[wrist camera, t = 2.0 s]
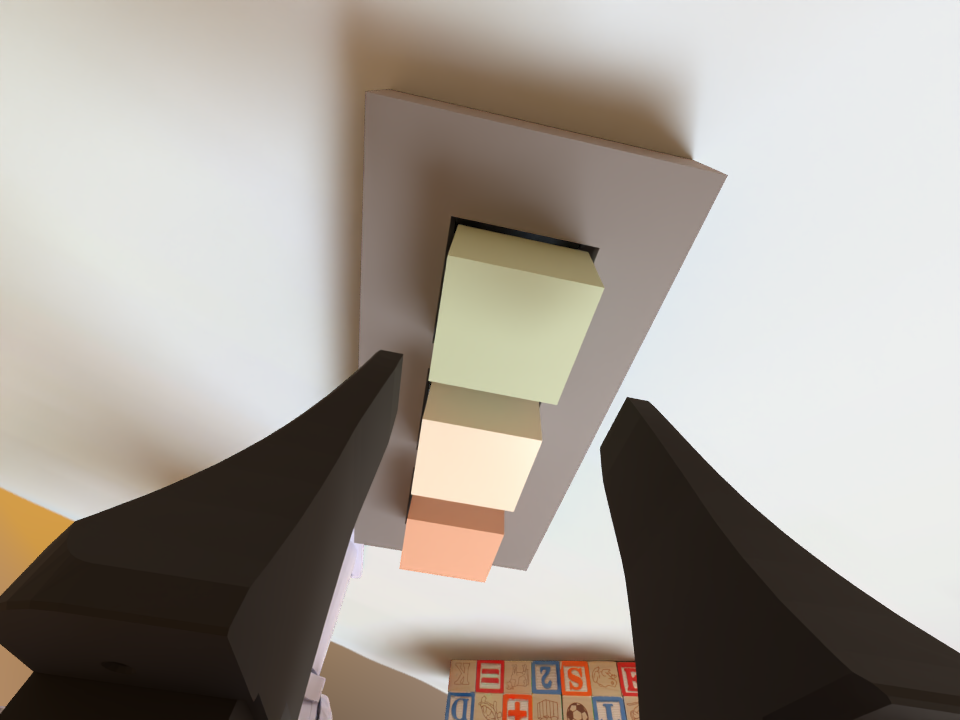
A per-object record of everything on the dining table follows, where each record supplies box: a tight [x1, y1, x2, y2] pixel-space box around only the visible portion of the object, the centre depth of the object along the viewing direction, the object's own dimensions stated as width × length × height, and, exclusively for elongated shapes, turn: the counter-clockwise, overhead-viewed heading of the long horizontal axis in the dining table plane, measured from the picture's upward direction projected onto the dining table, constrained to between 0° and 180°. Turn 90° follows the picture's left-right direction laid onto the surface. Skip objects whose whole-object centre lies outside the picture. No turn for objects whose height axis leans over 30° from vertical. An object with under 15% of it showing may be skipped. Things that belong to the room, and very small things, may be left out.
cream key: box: [411, 382, 542, 512], centre depth 19 cm, size 5×5×3 cm
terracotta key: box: [399, 495, 504, 582], centre depth 23 cm, size 5×5×3 cm
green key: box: [428, 224, 604, 405], centre depth 15 cm, size 5×5×3 cm
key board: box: [354, 89, 728, 571], centre depth 22 cm, size 12×26×3 cm, turn 169°
